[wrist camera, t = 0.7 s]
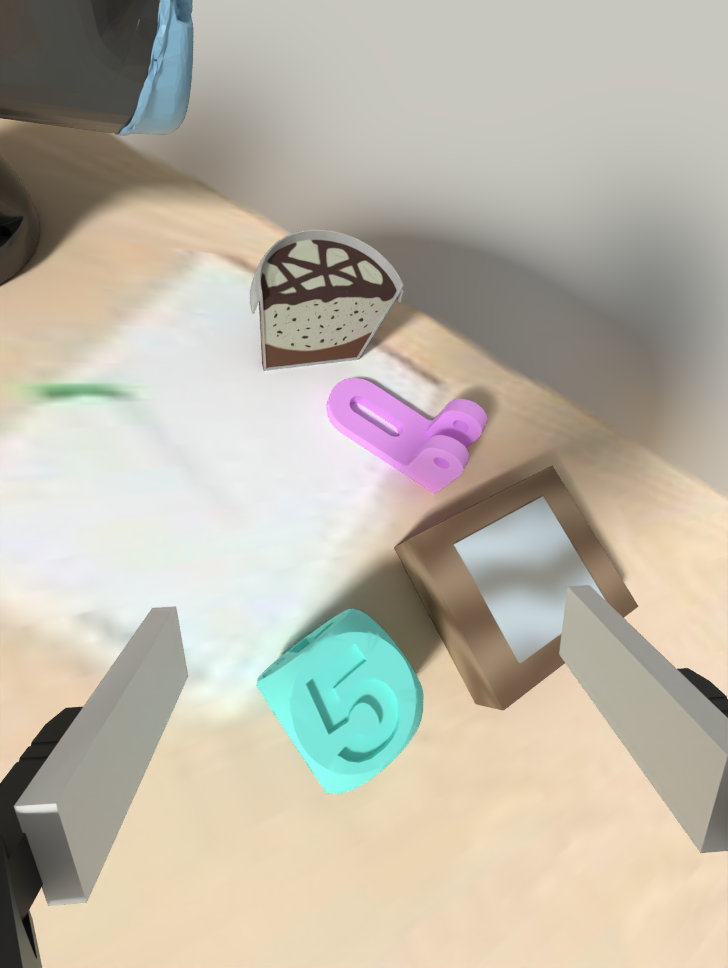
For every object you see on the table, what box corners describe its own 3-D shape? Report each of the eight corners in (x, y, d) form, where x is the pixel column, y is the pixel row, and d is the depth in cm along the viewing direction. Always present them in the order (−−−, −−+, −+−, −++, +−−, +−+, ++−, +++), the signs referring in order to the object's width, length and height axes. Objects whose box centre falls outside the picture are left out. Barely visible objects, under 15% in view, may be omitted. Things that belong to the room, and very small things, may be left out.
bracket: (457, 449, 44) (495, 416, 38) (434, 494, 42) (471, 467, 35) (344, 375, 43) (365, 329, 37) (315, 417, 41) (331, 375, 35)
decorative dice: (339, 610, 36) (367, 601, 29) (398, 697, 35) (444, 710, 28) (251, 678, 32) (258, 687, 25) (314, 776, 32) (341, 815, 24)
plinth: (394, 547, 39) (413, 536, 35) (526, 480, 45) (554, 464, 41) (475, 704, 36) (505, 710, 32) (603, 609, 42) (641, 606, 39)
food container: (354, 306, 46) (385, 223, 37) (372, 357, 45) (409, 284, 36) (231, 315, 42) (232, 223, 33) (247, 372, 40) (253, 293, 31)
